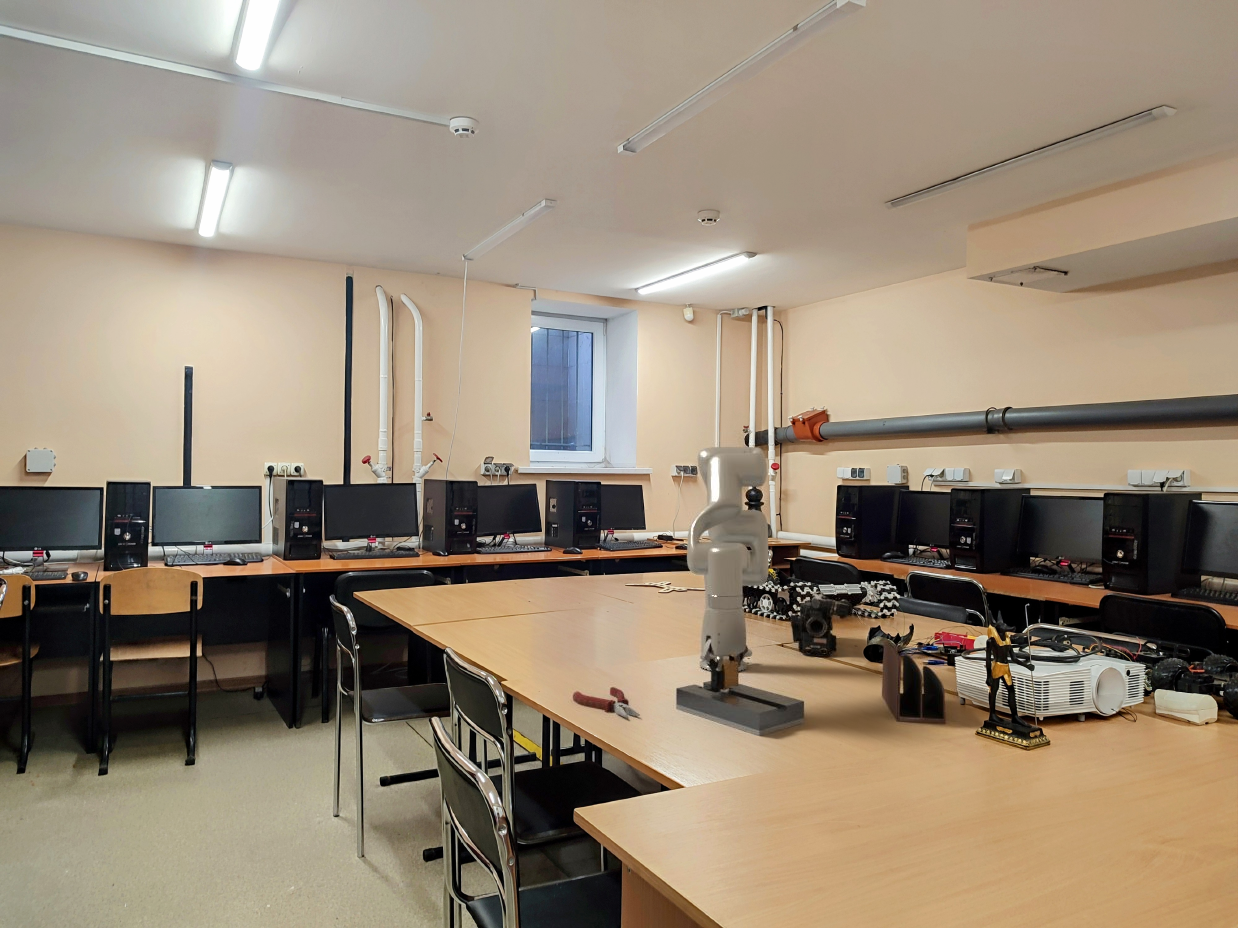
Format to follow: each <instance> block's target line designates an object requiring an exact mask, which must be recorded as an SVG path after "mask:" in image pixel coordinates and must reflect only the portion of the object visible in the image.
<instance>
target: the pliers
mask: <svg viewBox="0 0 1238 928" xmlns="http://www.w3.org/2000/svg"><path fill="white" fill-rule="evenodd" d="M609 694H610V696H612V697H614V698H615V697H616V699H617V702H616V700H614V699H605V698H601V697H595V696H592V695H591V696H589V695H585V694H583V693H581V692H580V691H575V692H573V695H572V699H573V701H574V702H575V703H576V704H578V705H580V706H584V707H588V708H594V709H598V710H602V711H604V712H605V713H610V712H612V713H613V712H614V713H615V714H616V715H617V716H618V715H619V716H621V717H623V718H626V719H628V718H629V717H628V716H634V717H635V716H637V717H640V716H641V715H640V714H639V712H638V711H636V710H635V709H633V708H632V707H631V706H630V705H629V704H630V703H629V699H627V698H625V694H624V692H623V690H621V689H619V688H617V687H614V686H612V687H610V689H609Z"/></svg>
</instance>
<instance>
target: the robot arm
mask: <svg viewBox="0 0 1238 928" xmlns="http://www.w3.org/2000/svg"><path fill="white" fill-rule="evenodd" d="M765 455H766V454H765V453H764V451H763V449H762V448H760V447H755V446H754V447H753V446H752V447H750V446H743V447H742V446H713V447H712V446H711V447H706V448H703V449H701V450H700V451H699V452H698V453H697V467H698V471H699V473H700V476H701V479H702V481H703V483H704V486H705V488H706V506H705V507H704V508H702V510H700V511H699V512H698V514H697V515H696V516H695V518H694V519H693V520H692V522H691V524H690V526H689V529H688V533H687V548H686V561H687V562H686V563H687V567H688V569H689V571H690V572H691V573H693V574H695V575H701V576H703V580H704V592H705V610H704V614H703V619H702V626H701V641H700V651H701V654H700V659H701V660H700V662H699V667H700V668H701V667H702V668H701V669H703V668H704V669H703V670H705V669H707V670H706V671H709V670H711V671H710V681H711V687H713V688H717V689H720V690H721V689H723V671H722V670H721V669H722V661H723V659H727V660H731V661H736V662H738V672H742V671H744V669H745V670H746V669H747V667H748V665H747V662H746V661H744V659H745V658H748V657H752V656H753V651H752V650H751V649H749V648H748V646H747V627H746V625H747V624H746V617H745V610H744V607H743V600H744V595H743V587H745V586H747V587H750V586H751V587H755V586H756V587H757V586H759V587H760V586H763V585H764V584H765V583H766V582H767V580H768V577H769V576H768V575H769V528H768V527H769V526H768V521H767V516H766V515H765V513H763V512H762V511H761V510H756V509H753V510H752V509H743V508H744V507H743V487H744V488H745V487H747V488H749V487H750V488H751V487H753V488H760V487H762V486H764V485H765V483H766V481H767V476H768V466H767V465H768V464H767V460H766V456H765ZM706 531H708V533H707V534H708V539H709V540H710V541H700V539H701V536H702V535H703V534H704V533H705V532H706ZM746 546H748V547H750V549H751V550H748V548H747V547H746ZM716 660H717V663H716ZM741 670H742V671H741ZM736 686H738V685H736Z"/></svg>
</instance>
